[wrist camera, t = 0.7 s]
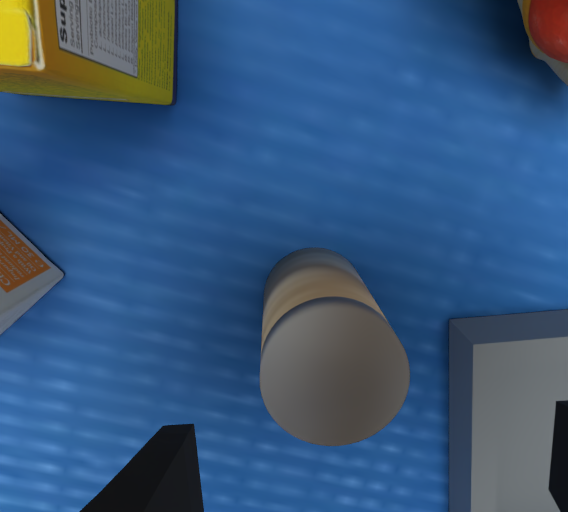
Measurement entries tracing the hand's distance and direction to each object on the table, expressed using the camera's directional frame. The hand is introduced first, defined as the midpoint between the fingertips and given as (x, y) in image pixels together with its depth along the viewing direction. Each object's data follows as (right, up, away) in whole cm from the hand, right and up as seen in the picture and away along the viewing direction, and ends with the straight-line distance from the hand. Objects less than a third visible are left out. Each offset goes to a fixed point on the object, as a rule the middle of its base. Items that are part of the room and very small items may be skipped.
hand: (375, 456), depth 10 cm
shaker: (-1, +2, +10) cm, 10 cm away
